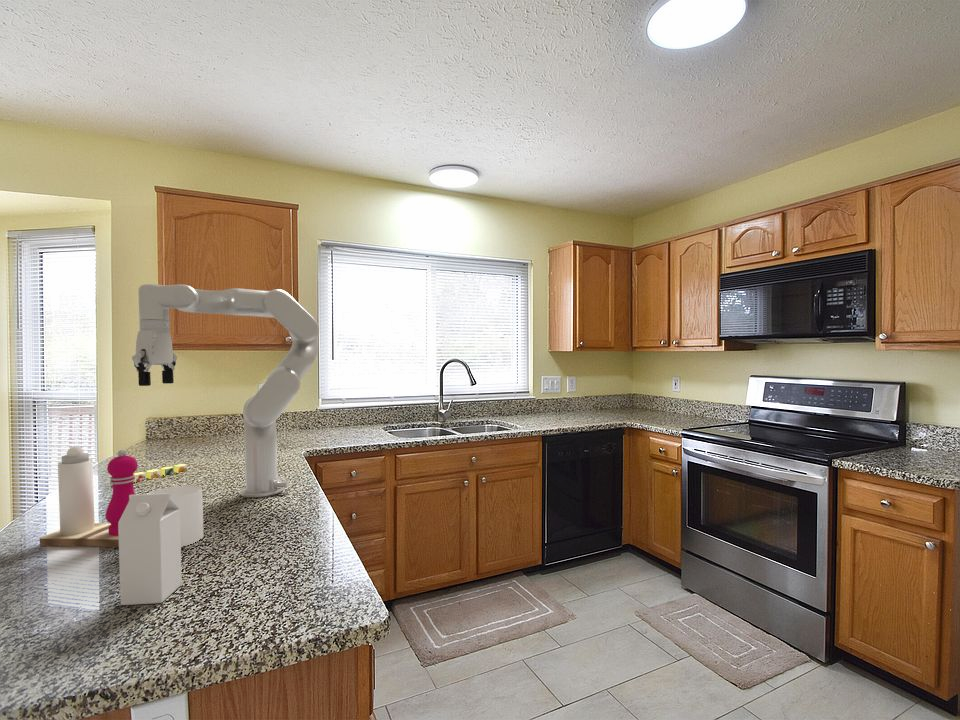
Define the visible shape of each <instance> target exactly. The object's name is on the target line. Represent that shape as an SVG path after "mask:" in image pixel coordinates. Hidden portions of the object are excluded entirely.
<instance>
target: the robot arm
mask: <svg viewBox="0 0 960 720" xmlns="http://www.w3.org/2000/svg"><path fill="white" fill-rule="evenodd" d="M137 291H138V315H139V316H138V317H139V319H138V320H139V321H138V322H139V330H138V331H137V335H136V340H135V343H136V344H135V354H134V355H133V356H131V360H132V362H133V365H134V368H135V369H136V371H135V372H137V373H138V376H137V377H138V386H140V387H148V386H151V384H152V383H151V371H150V369H151V367H152V366H157V365H158V366H159V365H160V366H161V368H162V371H161V382H162V384H174V370H175V369H176V368H175V366H176V365H177V360H178V355H176V353H174V351H173V342H172V341H173V340H172V334H171V323H170V322H171V320H170V309H176V310H178V311H180V312H184V313H196V314H197V313H198V314H213V315H214V314H216V315H226V316H242V317H243V316H244V317H259V318H260V317H261V318H271V319H272V318H273V319H276V321H277V322H278V323H279V324H280V325H282V326H283V328H285V330H287V331H288V334H289V336H290V338H291V340H292V341H291V343H292V344H291V346H290V349H289V351H288V352H287V353H286V354H285V355H284V357H283V359H281V361H280V362H279V363H278V365H277V366H276V367H275V368H274V369H273V370H272V371H271V372H270V373H269V374H268V375H267V378H266V381H265V382H264V384H263V385H262V386H261V388H260V389H258V391H257V393H256V394H254V395H252V396H250V397H249V398H248V399H247V400H246V401H245V403H244V404H243V410H242V411H243V412H242V415H243V416H242V417H243V432H244V433H243V434H244V436H243V437H244V438H243V439H244V468H245V469H244V471H245V472H244V474H245V476H244V477H245V479H244V480H245V481H244V482H245V487H244V488H242V489H241V490H240V492H239V493H240V496H241V497H243V498H263V497H264V498H265V497H269V496H273V495H276V494H279V493H281V492H283V490H284V488H285V489H286V488H289V486H290V481H289V480H287V479H286V480H284V479H283V480H282V476H281V475H279V474H278V445H277V443H278V441H277V439H278V436H277V434H278V433H277V419H278V418H279V417H280V416H281V415H282V413H283V412H284V411H285V410H286V409H287V407H288V405H290V404H291V402H292V401H293V399H294V398H295V397H296V395H297V394H298V392H299V390H300V388H301V387H300V386H301V380H302V379H303V378H304V376H305V375H306V373H307V372H308V371H309V369H310V368H311V366H312V365H313V364H314V362H315V361H316V358H317V356H318V353H319V352H318V351H319V340H318V336H319V332H320V327H319V323H318V321H317V320H316V319H315V318H314V316H313V315H311V314H310V313H309V312H308V311H307V310H306V309H305V308H304V307H303V306H302V305H301V304H300V303H299V302H298V301H296V299H295V298H294V297H293V296H291V294H289V293H288V292H287V291H285V290H283V289H281V288H280V289H278V288H277V289H276V288H275V289H272V290H261V289H258V290H257V289H249V288H238V287H237V288H236V287H233V288H228V289H222V290H214V289H213V290H211V289H210V290H209V289H208V290H206V289H199V288H198V289H195V288H193V287H192V286H191V285H187V284H180V283H179V284H168V285H166V284H165V285H162V284H155V283H154V284H151V283H149V284H146V283H145V284H141V285H139V287H138V290H137Z"/></svg>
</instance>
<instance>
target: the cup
mask: <svg viewBox="0 0 960 720" xmlns="http://www.w3.org/2000/svg"><path fill="white" fill-rule="evenodd" d="M168 493H170V500H171V501H172V502H173V503H174V504H175V505H176V506H177V507H178V508H179V509H180V539H181V547H183V546H186V547H188V546H187V545H189V546H191V545H190V544H192V545H194V544H196V543H198V542H200V541H201V540H202V539H203V538H204V503H203V502H204V501H203V500H204V499H203V488H202V487H201V486H199V485H193V484H190V485H185V484H184V485H175V486H169V487H164V488H160V489H156V490H153V491H150V492H149V493H147V494H168ZM200 539H201V540H200ZM199 540H200V541H199ZM197 541H198V542H197ZM195 542H196V543H195ZM193 543H194V544H193ZM183 548H184V547H183Z"/></svg>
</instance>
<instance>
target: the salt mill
mask: <svg viewBox="0 0 960 720" xmlns="http://www.w3.org/2000/svg"><path fill="white" fill-rule="evenodd" d="M93 463H94V462H93V459H92V458H90V454H89V453H88V452H84V449H83V448H82V446H78V445H75V446H71V447H69V448H68V450H67V451H66V454H64V455H62V456H61V462H58V463H57V473H58V475H57V476H58V477H57V479H58V504H59V505H58V506H59V508H58V510H59V530H60V534H61V535H75V534H80V533H84V532H88V531H90V530H92V529H94V528H95V523H96V522H95V501H94V500H95V498H94V495H95V494H94V470H93V469H94V467H93V466H94V465H93Z"/></svg>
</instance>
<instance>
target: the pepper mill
mask: <svg viewBox="0 0 960 720" xmlns="http://www.w3.org/2000/svg"><path fill="white" fill-rule="evenodd" d="M127 452H128V451H126V450H125V449H120V450H118V451H117V456H116V457H114V458H112V459H111V460H110V461H108V463H107V468H106V470H107V473H108V475H110V476H111V477H110V478H109V480H110V482H109V483H110V484H111V485H112V495H111V498H110V502H109V503H108V506H107V508H106V512H105V520H106V521H107V522H108V523H110V524H111V525H110V526H109V535H112V536H119V534H118V522H119V520H120V518H121V516H122V514H123V512H124V510H125V508H126V506H127V504H128V503H129V495H136V492H135V489H134V484H135V483H134V481H135V480H136V479H135V474H134V473H136V471H137V469H138V462H137V459H136V458H135V457H134V456H130V455H127V454H128V453H127Z"/></svg>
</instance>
